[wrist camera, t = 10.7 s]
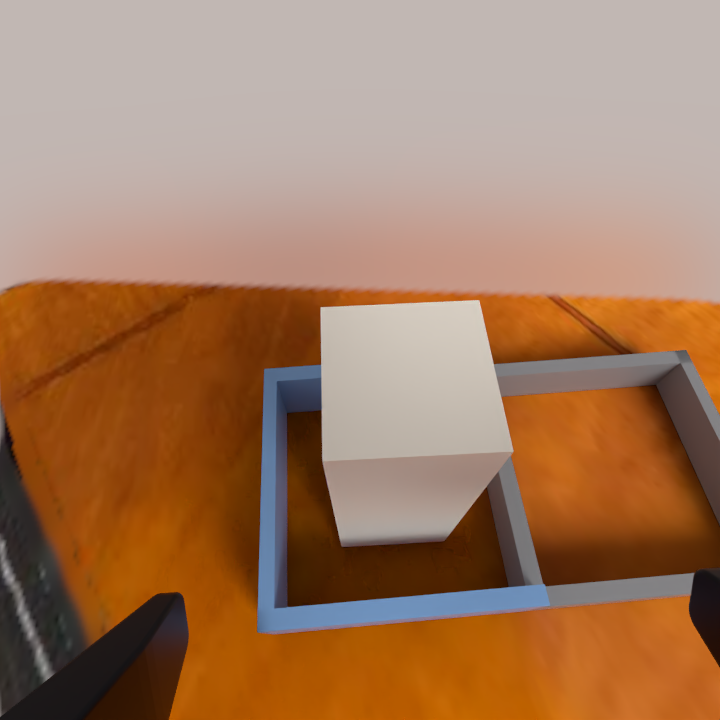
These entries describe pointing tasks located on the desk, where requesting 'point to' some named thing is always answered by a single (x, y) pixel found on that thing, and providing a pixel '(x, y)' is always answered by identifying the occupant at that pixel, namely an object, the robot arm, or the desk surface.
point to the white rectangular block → (408, 418)
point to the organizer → (526, 589)
